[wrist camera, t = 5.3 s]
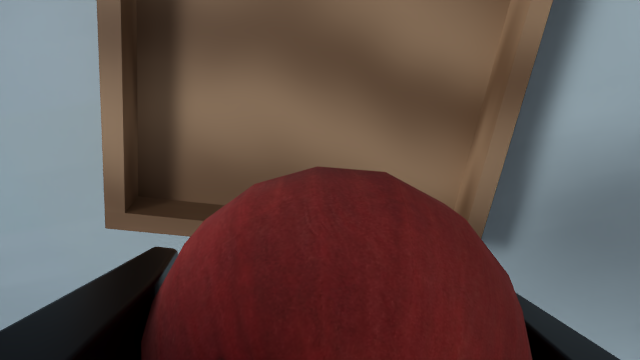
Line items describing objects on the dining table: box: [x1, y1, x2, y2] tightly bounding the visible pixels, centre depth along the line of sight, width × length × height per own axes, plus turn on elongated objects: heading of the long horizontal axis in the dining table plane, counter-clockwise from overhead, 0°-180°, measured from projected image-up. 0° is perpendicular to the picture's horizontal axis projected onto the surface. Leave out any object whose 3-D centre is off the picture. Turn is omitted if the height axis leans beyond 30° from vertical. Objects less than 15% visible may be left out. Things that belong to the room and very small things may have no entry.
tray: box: [97, 0, 553, 238], centre depth 18 cm, size 15×16×2 cm
